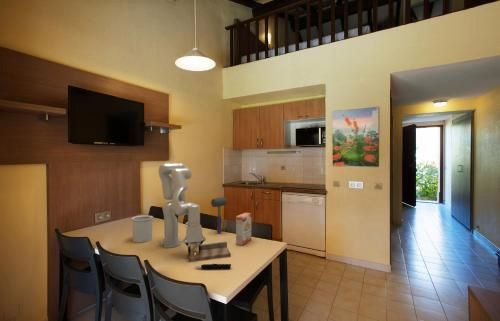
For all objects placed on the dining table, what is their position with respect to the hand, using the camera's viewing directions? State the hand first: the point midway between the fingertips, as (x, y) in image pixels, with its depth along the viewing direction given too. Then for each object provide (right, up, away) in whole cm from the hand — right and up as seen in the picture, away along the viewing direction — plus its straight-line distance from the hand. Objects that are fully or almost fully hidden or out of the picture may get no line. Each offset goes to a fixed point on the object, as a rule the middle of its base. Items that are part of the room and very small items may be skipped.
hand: (194, 251), depth 151 cm
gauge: (+1, -1, -2) cm, 3 cm away
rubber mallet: (+10, -3, +47) cm, 48 cm away
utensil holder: (-48, -4, +32) cm, 58 cm away
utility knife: (+14, -3, -17) cm, 23 cm away
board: (+9, -3, +1) cm, 10 cm away
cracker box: (+31, -3, +24) cm, 40 cm away
